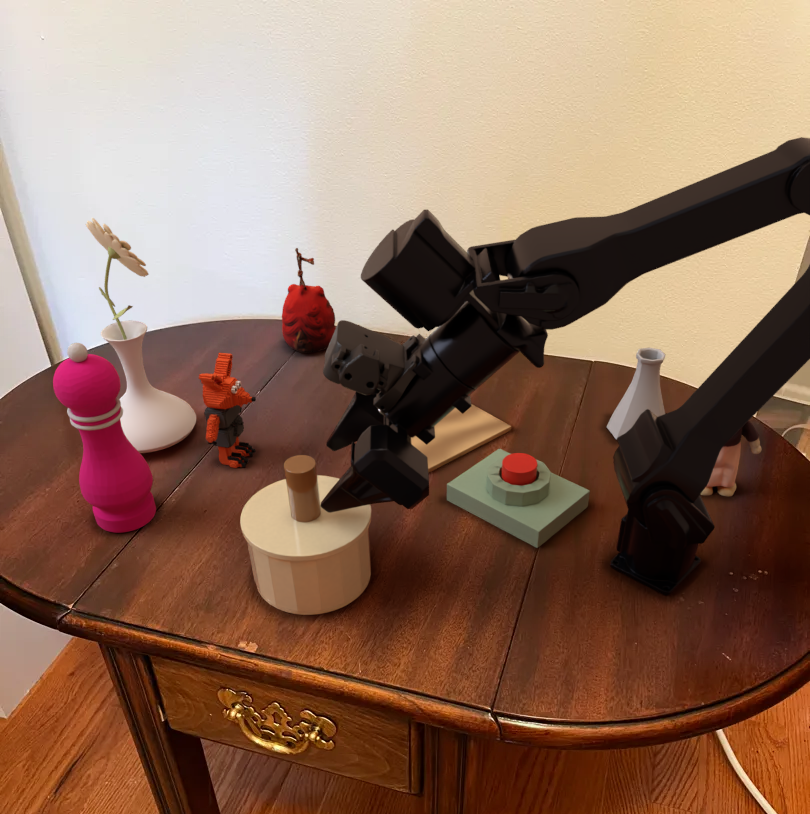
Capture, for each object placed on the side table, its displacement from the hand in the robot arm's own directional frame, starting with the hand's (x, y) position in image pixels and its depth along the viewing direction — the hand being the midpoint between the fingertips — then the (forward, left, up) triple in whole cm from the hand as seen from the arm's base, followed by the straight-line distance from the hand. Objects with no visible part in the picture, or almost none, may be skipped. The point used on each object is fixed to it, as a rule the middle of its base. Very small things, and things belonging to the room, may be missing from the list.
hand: (327, 476), depth 74 cm
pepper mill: (+24, +9, -12) cm, 28 cm away
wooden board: (+11, -25, -12) cm, 30 cm away
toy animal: (+23, -6, -12) cm, 26 cm away
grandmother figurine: (-20, -36, -12) cm, 43 cm away
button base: (-6, -20, -12) cm, 24 cm away
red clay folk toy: (+38, -30, -12) cm, 50 cm away
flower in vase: (+36, -2, -12) cm, 38 cm away
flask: (-8, -41, -12) cm, 44 cm away
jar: (+2, +2, -12) cm, 12 cm away
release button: (-6, -20, -8) cm, 23 cm away
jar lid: (+2, +2, -5) cm, 5 cm away
